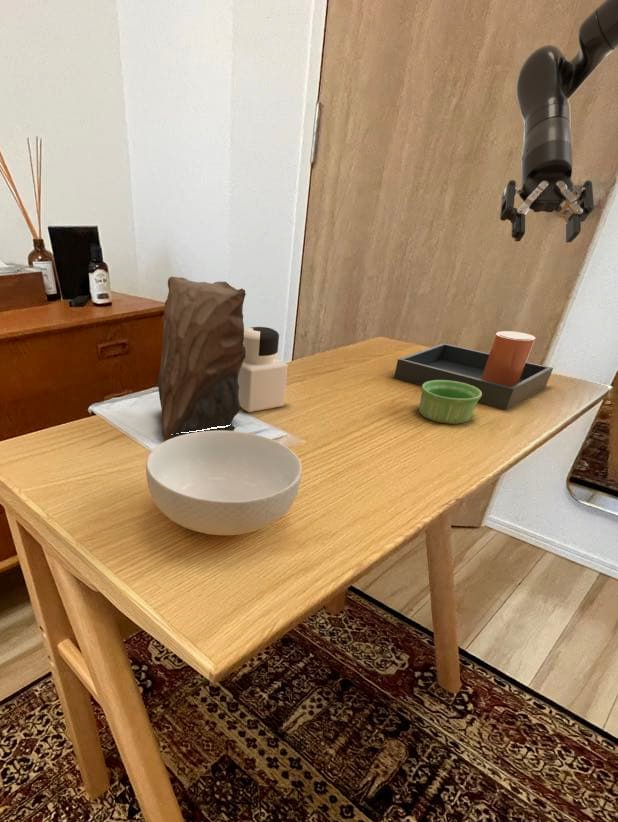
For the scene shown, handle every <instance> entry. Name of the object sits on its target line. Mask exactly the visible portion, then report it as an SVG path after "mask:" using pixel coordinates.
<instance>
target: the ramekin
mask: <svg viewBox="0 0 618 822" xmlns="http://www.w3.org/2000/svg"><path fill="white" fill-rule="evenodd" d="M481 396H482V392H481V391H480V390H479V389H478V388H476V387H474V386H472V385H469V384H466V383H462V382H457V381H450V380H433V381H428V382H425V383H424V384H423V385H422V386H421V396H420V402H419V406H418V411H419V413H420V415H421V416H422V417H424V418H425V419H427V420H430V421H433V422H437V423H442V424H452V425H453V424H454V425H455V424H463V423H466V422H468V421H469V420H471V418H472V416H473V414H474V411H475V410H476V407H477V404H478V403H479V402H478V400H479V399H480V398H481Z"/></svg>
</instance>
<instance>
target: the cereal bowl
mask: <svg viewBox="0 0 618 822" xmlns="http://www.w3.org/2000/svg"><path fill="white" fill-rule="evenodd" d="M302 473H303V467H302V463H301V460H300V458H299V456H297V454H296V453H295V452H294V451H293V450H291V448H289V447H288V446H286V445H284V444H283V443H281V442H279V441H276V440H275V439H273V438H270V437H267V436H263V435H260V434H256V433H251V432H245V431H238V430H233V431H225V430H218V431H202V432H195V433H189V434H185V435H181V436H177V437H174V438H171V439H169V440H167V441H162V442H161V443H159V444H158V445H156V446H155V447H154V448H153V449H152V450H151V451H150V452H149V454H148V456H147V458H146V461H145V475H146V482H147V487H148V489H149V490H148V492H149V493H150V497H151V499H152V501H153V503H154V504H155V505H156V508H158V509H159V511H160V512H162V514H163V515H165V517H167V518H168V519H170V520H171V521H172V522H174V523H176V524H177V525H178V526H181V527H183V528H186V529H188V530H190V531H194V532H197V533H201V534H207V535H216V536H235V535H236V536H237V535H238V536H239V535H244V534H245V535H246V534H249V533H253V532H256V531H260V530H263V529H264V528H265V529H266V528H268V527H269V526H271V525H273V524H274V523H276V522H278V521H279V520H280V519H282V517H284V516H285V515H286V514H287V512H288V511H290V509H291V507H293V504H294V502H295V501H296V498H297V496H298V493H299V490H300V485H301V482H302V477H303V475H302Z"/></svg>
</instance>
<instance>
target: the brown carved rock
mask: <svg viewBox="0 0 618 822" xmlns="http://www.w3.org/2000/svg"><path fill="white" fill-rule="evenodd" d="M167 288H168V293H167V297H166V300H165V301H164V310H163V316H162V327H163V331H162V348H161V354H160V355H161V356H160V368H159V373H158V378H157V389H158V395H159V403H160V407H161V429H162V430H161V433H162V436H163V442H165V441H167V440H169V439H171V438H174V437H177V436H181V435H185V434H189V433H195V432H189V431H196V430H202V429H207V428H211V427H217V426H226V425H230V424H231V425H230V426H228V427H225V428H217V429H210V430H204V431H218V430H225V431H235V430H236V427H235V426H234V425H233V421H234V419H235V417H236V416H237V415H238V414H239V413H240V411H241V407H240V404H239V384H238V376H239V372H240V369H241V366H242V363H243V361H244V359H245V357H246V356H245V354H246V351H245V347H244V345H243V341H244V330H245V324H244V313H243V308H244V302H245V297H246V296H247V295H246V290H245V289H244V288H243V287H242V288H238V289H236V288H235V287H234V286H231V285H230V284H229V283H228V282H227V281H214V282H213V283H212V282H211V283H210V282H207V281H206V282H205V281H200V282H199V281H194V280H193V281H192V280H189V279H187V278H185V277H178V276H170V277H168V279H167ZM181 432H189V433H181ZM197 432H202V431H197ZM176 433H179V434H176ZM171 434H173V435H171Z"/></svg>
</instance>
